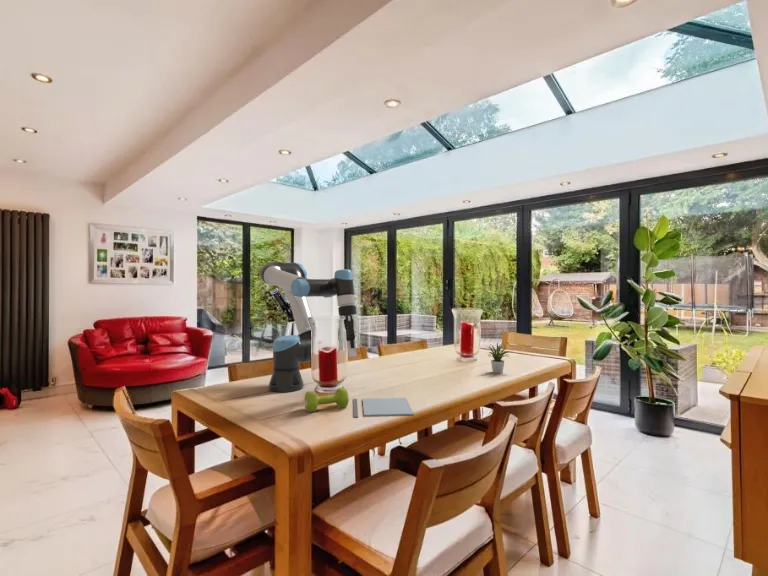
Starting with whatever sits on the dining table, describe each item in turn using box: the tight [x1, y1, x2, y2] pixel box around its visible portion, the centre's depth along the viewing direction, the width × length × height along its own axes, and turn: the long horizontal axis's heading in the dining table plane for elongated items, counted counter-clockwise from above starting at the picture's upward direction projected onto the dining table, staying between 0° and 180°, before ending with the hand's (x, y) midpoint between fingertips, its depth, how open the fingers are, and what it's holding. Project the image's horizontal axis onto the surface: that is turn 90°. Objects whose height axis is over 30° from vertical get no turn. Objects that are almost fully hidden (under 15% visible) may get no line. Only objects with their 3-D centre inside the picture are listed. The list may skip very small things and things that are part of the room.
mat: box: [361, 397, 415, 417], centre depth 153 cm, size 18×20×1 cm
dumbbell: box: [303, 386, 350, 413], centre depth 151 cm, size 16×8×7 cm, turn 115°
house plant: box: [486, 342, 512, 374], centre depth 214 cm, size 14×14×16 cm
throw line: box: [352, 398, 359, 419], centre depth 152 cm, size 2×22×1 cm, turn 5°
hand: (352, 356), depth 165 cm, fingers open, 13 cm apart
